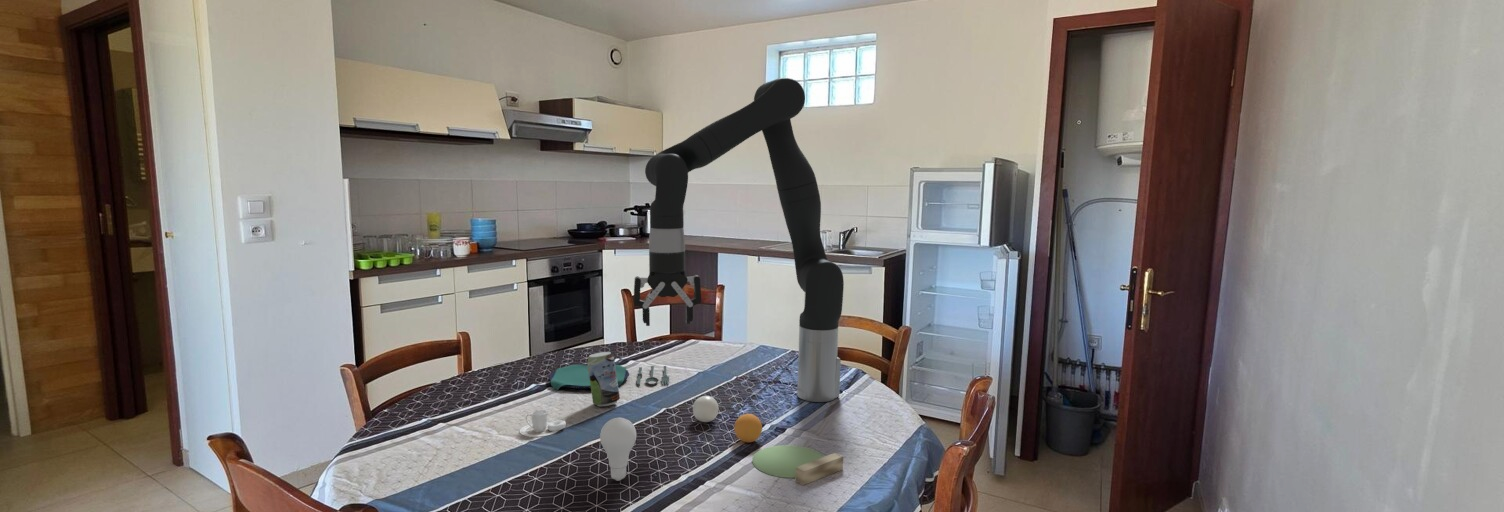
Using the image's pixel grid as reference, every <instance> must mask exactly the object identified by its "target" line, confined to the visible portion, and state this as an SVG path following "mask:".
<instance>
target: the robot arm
mask: <svg viewBox="0 0 1504 512" xmlns="http://www.w3.org/2000/svg"><path fill="white" fill-rule="evenodd" d="M805 102H806V93H805V90H804V88H803V86H802V85H801V83H799V81H797V80H796V79H793V78H790V77H779V78H775V79H773V80H771V81H767V82H765V83H763V84H761V85H759V87H758V88H757V89H756V91H755V93H754V96H753V101H752V102H750V103H749V104H746V106H743V107H742V108H740V109H738V110H736V111H734V112H732V113H731V114H728V115H726V116H724V117H722V118H720V119H718V120H717V119H716V121H714V122H712V123H710V124H709V125H707V126H705V127H703V128H701V129H699V130H698V131H697V132H694V133H693V134H692V135H690V136H689V137H687V138H686V139H684V140H683V141H681V142H678V143H676V144H674V145H672V146H670V147H667V148H665V149H663V150H662V151H660V152H658V153H656V154H655V155H653V156H652V157H651V158H650V159H648V162H647V163H646V165H645V171H644V172H645V173H644V174H645V177H646V180H647V181H648V182H649V183H650V184H651V185H652V186H655V196H654V200H653V201H652V202H651V204H650V207H649V237H648V253H649V254H648V257H649V258H648V260H649V262H648V263H649V264H648V267H649V270H648V272H649V273H648V276H647V277H640V276H635V277H634V285H633V287H634V288H633V304H634V306H635V307H639V308H641V309H642V322H643V324H645V326H646V327H650V324H651V323H650V320H651V319H650V314H651V313H650V312H651V311H650V305H651V303H653V302H654V300H656V298H657V297H660V298H666V297H670V298H676V297H677V296H679V297H680V298H681V299H682V300H683V302H684V303H685V324H686V325H690V324H691V322H693V320H694V307H695V305H700V304H701V303H702V290H701V288H702V287H701V286H702V285H701V278H700V275H697V274H694V275H693V276H687V275H686V238H685V237H686V236H685V230H684V229H685V228H684V227H685V226H684V225H685V223H684V222H685V221H684V206H685V201H686V195H687V190H688V189H687V188H688V184H689V183H688V182H689V173H690V172H692V171H694V170H696V169H701V168H704V167H706V166H708V165H709V164H711V163H713V162H714V161H716V160H717V159H719V158H720V157H722V156H723V155H725V154H727V153H729V152H730V151H731V150H733V149H734V148H735V147H737V146H738V145H740V144H742V143H743V142H744V141H746V140H748V139H749V138H751V137H753V136H754V135H756V134H758V133H759V132H762V134H763V137H764V140H765V143H766V146H767V150H768V154H769V160H770V163H771V169H772V171H773V175H774V180H775V184H776V189H777V194H778V198H779V203H780V207H781V209H782V213H783V216H784V221H785V224H786V227H787V231H788V234H789V236H790V241H791V245H792V251H793V259H794V266H795V273H796V280H797V284H798V285H799V287H800V289H801V290H802V291H803V292H804V293H805V294H804V308H803V311H802V312H801V313H800V314H799V319H798V320H799V325H798V326H799V327H798V329H799V330H798V359H797V361H798V362H797V363H798V365H797V366H798V367H797V387H796V389H797V393H796V394H797V397H798V398H799V399H801V400H804V401H807V402H813V403H826V402H830V401H834V400H835V399H837V397H838V398H840V392H841V391H840V386H841V384H840V383H841V363H842V362H841V358H840V357H838V348H839V347H838V346H839V345H838V343H839V323H840V322H839V321H840V319H841V316H842V312H843V303H844V302H843V300H844V285H845V283H844V282H845V281H844V274H843V272H842V269H841V268H840V266H838V265H837V264H836V263H835V262H833V261H830V260H828V258H827V255H826V252H825V249H824V248H825V247H824V244H823V241H822V235H821V220H822V219H821V215H822V204H821V202H822V201H821V196H820V191H819V187H818V182H817V178H816V174H815V172H814V170H813V167H812V166H811V164H810V163H809V161H808V159H807V157H806V156H805V154H804V153H803V151H802V150H801V149H800V147H799V144H798V143H797V141H796V138H795V134H794V130H793V126H792V121H791V119H793V118H795V117H796V116H798V115H799V114H800V113H801V111H802V110H803V108H804V106H805ZM646 283H647V284H648V286H649V287H650V288H651V290H649V293H648V294H647V296H646V297H645V298H644V300H642V299H641V289H642V288H644V287H645V284H646ZM687 283H689V284H690V286H692V287H693V296H694V297H693V298H690V297H689V295H688V294H686V292H685V291H684V290H683V289H684V287H685V286H687Z"/></svg>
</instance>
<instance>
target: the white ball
mask: <svg viewBox="0 0 1504 512" xmlns="http://www.w3.org/2000/svg"><path fill="white" fill-rule="evenodd" d="M719 410H720V409H719V404H718V401H717V400H716V399H715V398H714V397H712V396H709V395H703V396H699V397H698V398H697V399H696V400H695V401H694V403H693V406H692V413H693V416H694V417H695V419H696V420H698V421H699V422H702V423H710V422H712V421H713V420H715V419H716V417H717V416H718V413H719Z"/></svg>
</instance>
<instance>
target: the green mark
mask: <svg viewBox="0 0 1504 512" xmlns="http://www.w3.org/2000/svg"><path fill="white" fill-rule="evenodd" d="M825 456H826V455H824V454H823V453H821V452H819V451H817V450H816V449H812V448H809V447H806V446H801V445H791V444H790V445H788V444H787V445H785V444H784V445H774V446H773V445H772V446H768V447H765V448H762V449H760V450H758V451H756V452H755V453H754V454H753V456H752V464H753V467H755V468H756V469H757V470H758V471H760V472H762V473H764V474H767V475H770V476H773V477H778V478H787V479H796V467H798V466H801V465H804V464H806V463H809V462H812V461H814V460H817V459H820V458H822V457H825Z"/></svg>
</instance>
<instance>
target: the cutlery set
mask: <svg viewBox="0 0 1504 512" xmlns="http://www.w3.org/2000/svg"><path fill="white" fill-rule="evenodd" d="M615 367H616V374H617V382H618V386H620V385H622V384H623V383H624V381H625V380H627V379H628V377H629V376H630V373H629V370H627V367H625V366H622V365H620V364H615ZM654 368H655V366H654V365H651V366H650V377H648V378H647V377H646V379H645V382H646V384H648V385H650V386H651V385H656V384H657V383H658V382H659V378H658V377H655V376H654ZM638 370H639V372H638V373H637V378H636V385H637V386H641V380H642V379H641V378H643V373H642V370H643V369H642V367H638ZM662 375H663V376H661V379H660V380H661V384H662V386H664V385H669V383H670V376H668V374H667V366H666V365H663V374H662ZM548 378H549V382H550V385H551V387H552V388H553V389H555V390H557V391H559V389H560V388H561V387H563V388H567V389H568V388H569V389H591V386H590V379H589V371H588V364H587V363H586V364H571V365H566V366H563V367H559V368H556V370H555V371H553V372H552V373H550V374H549V377H548ZM650 382H655V383H650Z"/></svg>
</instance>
